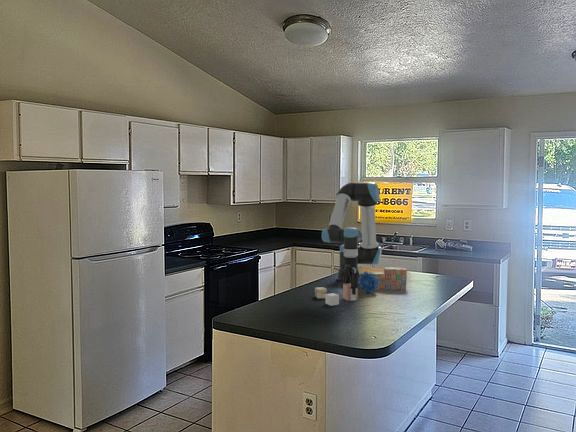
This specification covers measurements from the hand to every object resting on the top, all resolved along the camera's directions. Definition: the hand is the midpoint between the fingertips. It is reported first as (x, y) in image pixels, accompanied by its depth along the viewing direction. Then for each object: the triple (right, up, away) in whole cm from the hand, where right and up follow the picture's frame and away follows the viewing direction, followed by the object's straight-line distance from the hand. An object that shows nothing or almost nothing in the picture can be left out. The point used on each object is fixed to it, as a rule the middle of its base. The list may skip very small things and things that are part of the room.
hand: (350, 298), depth 270 cm
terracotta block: (0, 0, 0) cm, 0 cm away
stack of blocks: (+25, +1, +27) cm, 37 cm away
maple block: (-15, 0, +4) cm, 16 cm away
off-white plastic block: (-11, -1, -11) cm, 15 cm away
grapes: (+12, 0, +15) cm, 19 cm away
